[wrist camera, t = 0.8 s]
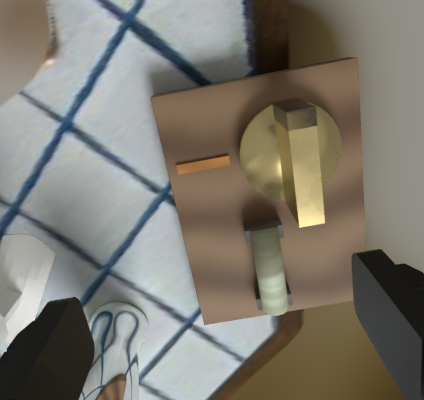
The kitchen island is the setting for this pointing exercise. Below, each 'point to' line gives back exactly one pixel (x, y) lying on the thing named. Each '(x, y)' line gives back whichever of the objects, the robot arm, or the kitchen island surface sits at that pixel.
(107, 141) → the kitchen island surface
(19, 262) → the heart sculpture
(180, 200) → the knob and handle board
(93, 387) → the beer glass
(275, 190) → the wing knob
